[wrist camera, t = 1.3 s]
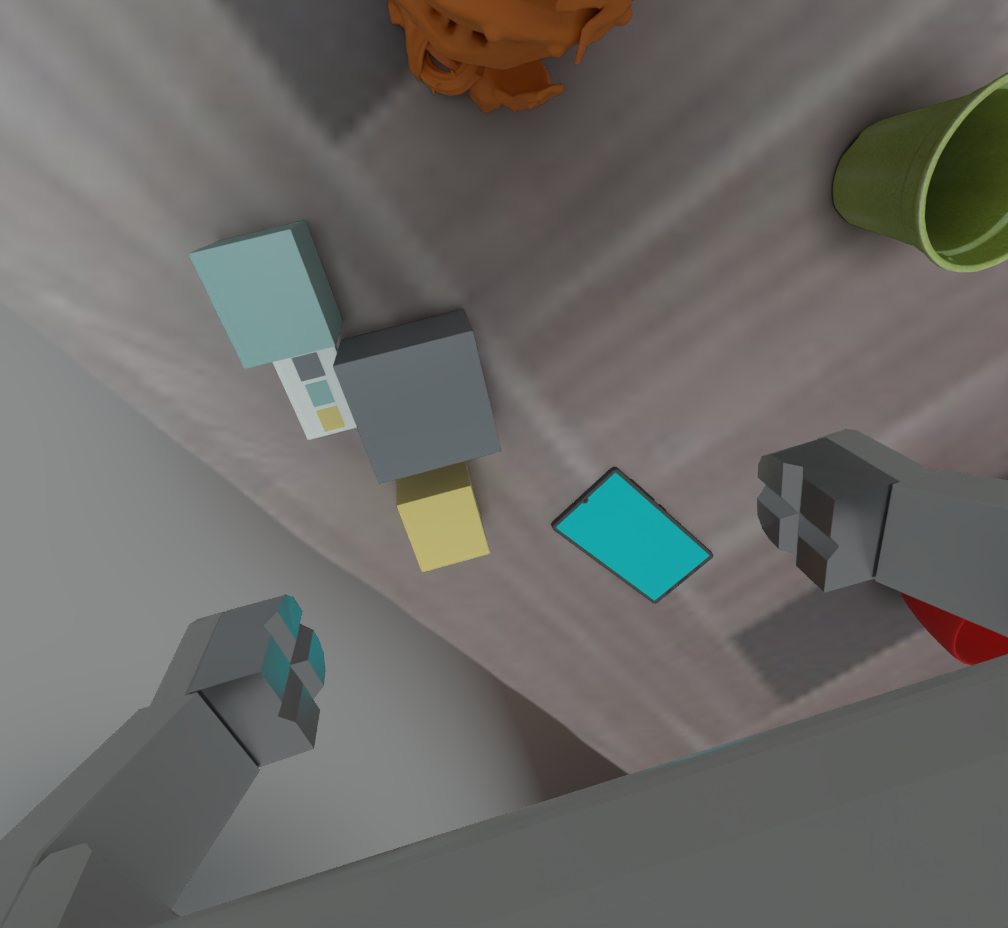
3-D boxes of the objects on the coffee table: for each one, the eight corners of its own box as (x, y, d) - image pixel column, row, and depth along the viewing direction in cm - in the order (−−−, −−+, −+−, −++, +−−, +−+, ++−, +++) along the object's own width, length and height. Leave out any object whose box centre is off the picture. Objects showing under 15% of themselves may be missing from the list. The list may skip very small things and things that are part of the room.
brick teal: (218, 240, 30) (188, 253, 25) (305, 219, 30) (290, 229, 26) (264, 341, 33) (244, 369, 28) (343, 322, 33) (335, 346, 29)
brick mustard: (396, 467, 39) (396, 505, 34) (462, 450, 39) (470, 485, 35) (419, 530, 42) (422, 572, 37) (480, 513, 42) (489, 553, 38)
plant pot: (813, 104, 31) (941, 87, 24) (959, 67, 32) (1130, 37, 24) (800, 265, 36) (904, 291, 29) (927, 230, 37) (1062, 247, 29)
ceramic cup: (967, 434, 47) (1094, 495, 38) (995, 541, 55) (1105, 610, 46) (836, 518, 49) (929, 593, 41) (882, 608, 57) (967, 686, 49)
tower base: (341, 340, 33) (332, 366, 29) (463, 309, 34) (472, 330, 29) (381, 447, 37) (379, 483, 33) (489, 418, 38) (501, 451, 34)
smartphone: (655, 604, 50) (550, 528, 43) (651, 598, 51) (548, 522, 44) (715, 555, 48) (617, 467, 41) (711, 549, 49) (613, 462, 42)
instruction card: (271, 358, 33) (270, 358, 33) (333, 342, 33) (333, 342, 33) (308, 439, 36) (307, 440, 36) (365, 424, 36) (364, 425, 36)
